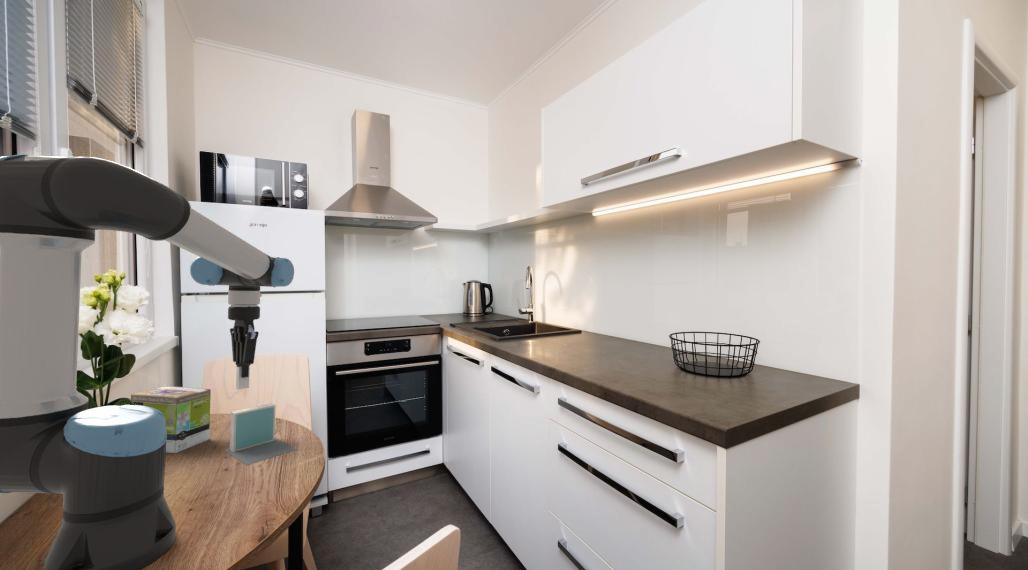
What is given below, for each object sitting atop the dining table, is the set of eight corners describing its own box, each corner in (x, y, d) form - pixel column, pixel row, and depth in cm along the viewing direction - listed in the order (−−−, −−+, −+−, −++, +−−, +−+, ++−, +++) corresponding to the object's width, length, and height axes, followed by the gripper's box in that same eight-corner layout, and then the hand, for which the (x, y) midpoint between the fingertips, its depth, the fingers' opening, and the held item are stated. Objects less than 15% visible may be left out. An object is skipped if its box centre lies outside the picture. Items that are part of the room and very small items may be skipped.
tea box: (210, 440, 112) (212, 388, 112) (174, 455, 102) (176, 397, 102) (166, 435, 114) (168, 384, 114) (126, 449, 104) (128, 393, 104)
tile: (233, 452, 103) (234, 413, 103) (229, 449, 105) (230, 411, 105) (274, 440, 111) (275, 405, 111) (270, 438, 113) (271, 403, 113)
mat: (246, 467, 96) (246, 465, 96) (223, 451, 104) (223, 450, 104) (297, 451, 106) (297, 449, 106) (272, 438, 114) (272, 436, 114)
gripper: (269, 306, 112) (267, 389, 112) (249, 303, 120) (247, 381, 120) (239, 307, 106) (237, 395, 106) (219, 304, 114) (218, 386, 114)
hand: (242, 388), depth 113 cm, fingers closed
